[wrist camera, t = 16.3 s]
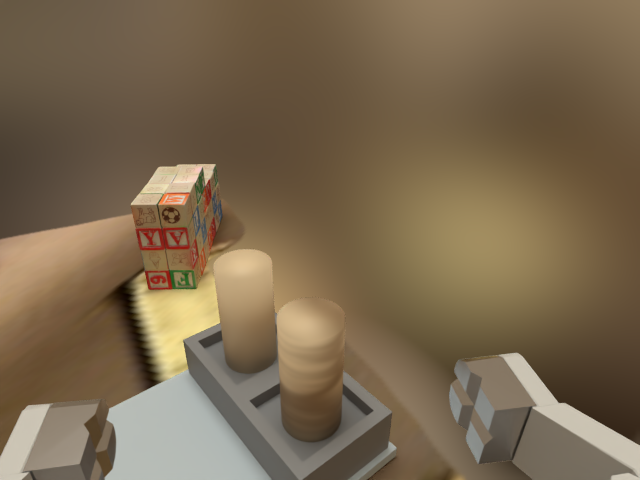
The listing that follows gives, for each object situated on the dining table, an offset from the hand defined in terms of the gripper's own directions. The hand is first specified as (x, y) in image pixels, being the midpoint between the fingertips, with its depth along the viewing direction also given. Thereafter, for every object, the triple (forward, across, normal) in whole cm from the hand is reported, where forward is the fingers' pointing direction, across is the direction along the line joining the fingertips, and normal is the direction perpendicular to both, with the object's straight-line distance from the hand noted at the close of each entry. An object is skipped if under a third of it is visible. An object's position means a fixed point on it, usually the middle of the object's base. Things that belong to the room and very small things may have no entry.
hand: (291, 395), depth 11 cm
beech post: (+17, -4, +22) cm, 28 cm away
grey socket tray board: (+18, +5, +26) cm, 32 cm away
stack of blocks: (+54, +9, +27) cm, 61 cm away
